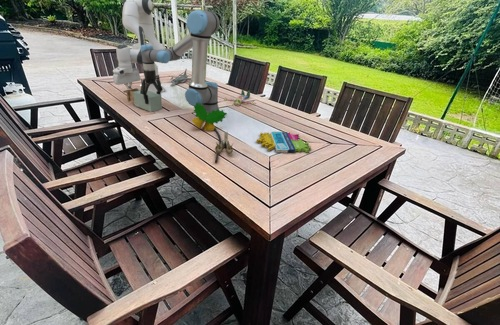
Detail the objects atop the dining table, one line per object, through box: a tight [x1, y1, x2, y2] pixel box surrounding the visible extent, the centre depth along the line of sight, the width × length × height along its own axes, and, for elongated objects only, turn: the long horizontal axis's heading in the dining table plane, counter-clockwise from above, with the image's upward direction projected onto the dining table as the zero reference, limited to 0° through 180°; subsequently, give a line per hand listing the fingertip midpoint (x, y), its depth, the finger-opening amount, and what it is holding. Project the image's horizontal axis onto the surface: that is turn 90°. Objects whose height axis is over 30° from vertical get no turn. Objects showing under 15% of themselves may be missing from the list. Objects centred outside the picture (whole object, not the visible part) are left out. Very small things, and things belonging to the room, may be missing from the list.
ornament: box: [191, 102, 228, 132], centre depth 162 cm, size 21×8×15 cm, turn 105°
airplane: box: [168, 68, 192, 87], centre depth 266 cm, size 38×31×10 cm
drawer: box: [122, 87, 140, 103], centre depth 194 cm, size 22×9×8 cm, turn 58°
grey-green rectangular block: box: [133, 89, 163, 113], centre depth 189 cm, size 17×10×10 cm, turn 58°
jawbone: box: [214, 131, 234, 156], centre depth 136 cm, size 9×15×10 cm
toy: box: [223, 89, 257, 106], centre depth 219 cm, size 28×7×30 cm
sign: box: [256, 131, 312, 154], centre depth 152 cm, size 26×2×30 cm
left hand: (129, 88), depth 196 cm, fingers closed
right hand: (153, 102), depth 187 cm, fingers closed on grey-green rectangular block, 10 cm apart
